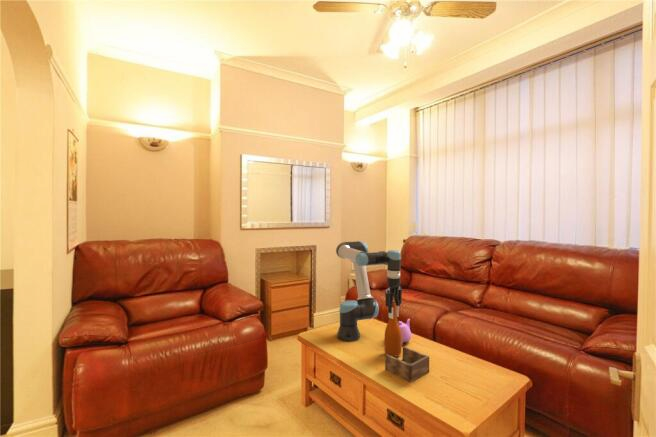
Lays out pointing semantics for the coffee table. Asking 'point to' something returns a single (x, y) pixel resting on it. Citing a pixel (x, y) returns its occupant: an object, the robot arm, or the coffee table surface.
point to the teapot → (405, 331)
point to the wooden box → (408, 365)
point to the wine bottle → (393, 336)
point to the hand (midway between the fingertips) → (393, 317)
